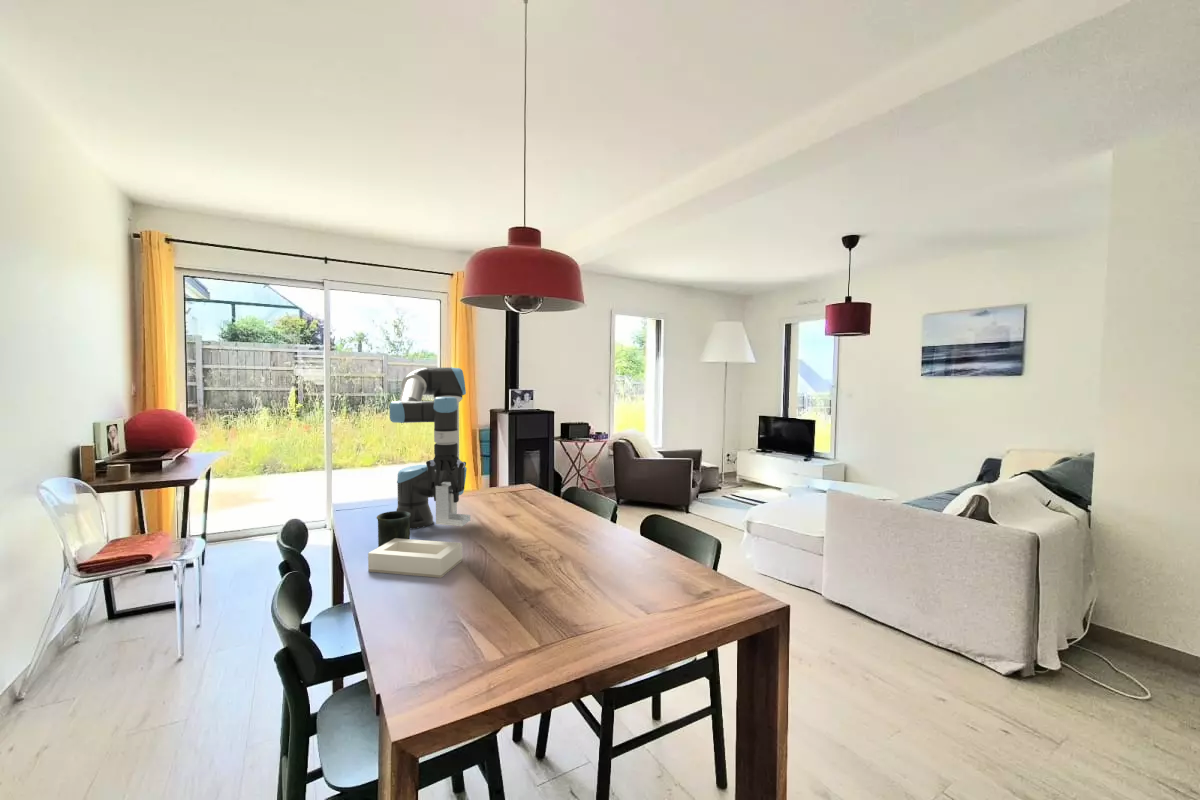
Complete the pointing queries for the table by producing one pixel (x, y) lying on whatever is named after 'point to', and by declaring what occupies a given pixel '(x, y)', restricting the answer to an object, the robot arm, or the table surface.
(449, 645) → the table surface
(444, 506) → the grey l-shaped block
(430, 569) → the well block
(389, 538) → the mug
